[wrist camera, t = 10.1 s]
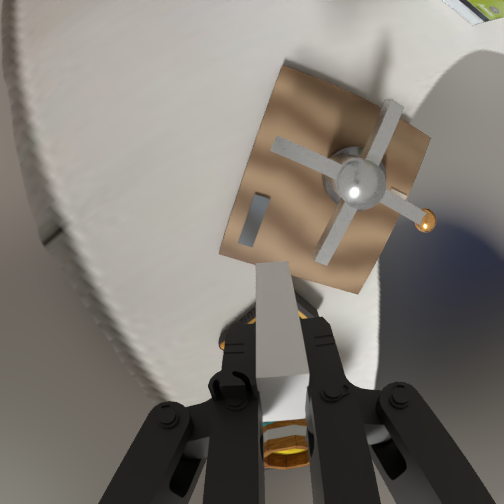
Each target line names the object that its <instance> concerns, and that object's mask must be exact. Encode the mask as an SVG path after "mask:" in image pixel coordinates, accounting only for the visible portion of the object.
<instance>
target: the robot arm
mask: <svg viewBox="0 0 504 504" xmlns="http://www.w3.org/2000/svg"><path fill="white" fill-rule="evenodd" d="M224 345H225V346H224V352H223V353H224V355H223V361H222V370H221V371H219V372H217V373H216V374H215V375H214V376H213V377H212V378H211V379H210V381H209V384H208V388H209V390H210V393H211V396H212V398H211V399H209V400H208V401H206V402H203V403H201V404H197V405H193V406H189V407H184V406H183V405H182V404H180V403H178V402H171V401H168V402H163V403H160V404H158V405H157V406H155V407H154V408H153V409H152V410H151V411H150V413H149V414H148V416H147V418H146V420H145V421H144V423H143V425H142V427H141V428H140V430H139V432H138V434H137V436H136V437H135V439H134V441H133V443H132V444H131V446H130V448H129V450H128V452H127V454H126V455H125V457H124V459H123V461H122V462H121V464H120V466H119V468H118V469H117V471H116V473H115V475H114V476H113V478H112V480H111V482H110V484H109V485H108V487H107V489H106V491H105V493H104V494H103V496H102V498H101V500H100V502H99V503H98V504H188V503H189V500H190V498H191V495H192V493H193V491H194V489H195V486H196V483H197V481H198V479H199V476H200V474H201V472H202V469H203V467H204V464H205V462H206V459H207V465H206V475H205V485H204V495H203V504H265V483H264V482H265V481H264V480H265V478H264V434H263V422H269V421H283V420H295V419H304V418H305V416H306V422H307V429H306V437H305V441H307V445H308V454H309V463H310V473H311V483H312V494H313V504H381V503H380V497H379V492H378V486H377V482H376V477H375V472H374V468H373V463H372V460H373V462H374V464H375V465H376V467H377V469H378V471H379V473H380V474H381V476H382V478H383V480H384V481H385V484H386V485H387V487H388V489H389V491H390V493H391V494H392V496H393V498H394V500H395V502H396V504H496V503H495V502H494V500H493V499H492V497H491V495H490V494H489V492H488V491H487V489H486V487H485V486H484V484H483V483H482V481H481V480H480V478H479V477H478V475H477V474H476V472H475V471H474V469H473V468H472V466H471V465H470V463H469V462H468V460H467V459H466V457H465V456H464V455H463V453H462V452H461V450H460V449H459V447H458V446H457V444H456V443H455V442H454V440H453V439H452V437H451V436H450V435H449V433H448V432H447V430H446V429H445V428H444V426H443V425H442V423H441V422H440V421H439V419H438V418H437V417H436V415H435V414H434V413H433V411H432V410H431V408H430V407H429V406H428V404H427V403H426V402H425V401H424V399H423V398H422V396H421V395H420V394H419V393H418V391H417V390H416V389H415V388H414V387H413V386H412V385H410V384H407V383H405V382H394V383H391V384H388V385H387V386H386V387H384V388H383V390H382V391H380V390H368V389H362V388H359V387H356V386H354V385H353V384H352V383H350V382H349V381H348V379H347V378H346V376H345V374H344V371H343V367H342V363H341V360H340V356H339V353H338V350H337V346H336V344H335V339H334V337H333V333H332V329H331V326H330V324H329V323H328V322H327V321H326V320H325V319H324V318H323V317H314V318H305V319H300V318H299V313H298V308H297V303H296V298H295V293H294V288H293V283H292V278H291V273H290V268H289V263H288V261H280V262H267V263H256V323H253V324H236V325H231V327H230V328H229V330H228V331H227V333H226V335H225V344H224ZM371 458H372V459H371Z"/></svg>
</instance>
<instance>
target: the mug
mask: <svg viewBox="0 0 504 504" xmlns="http://www.w3.org/2000/svg"><path fill="white" fill-rule="evenodd" d="M306 429H307V422H306V416H305V418H304V419H295V420H283V421H269V422H263V434H264V467H268V468H277V469H291V468H297V467H302V466H307V465H310V463H309V454H308V445H307V441H305V437H306Z"/></svg>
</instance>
